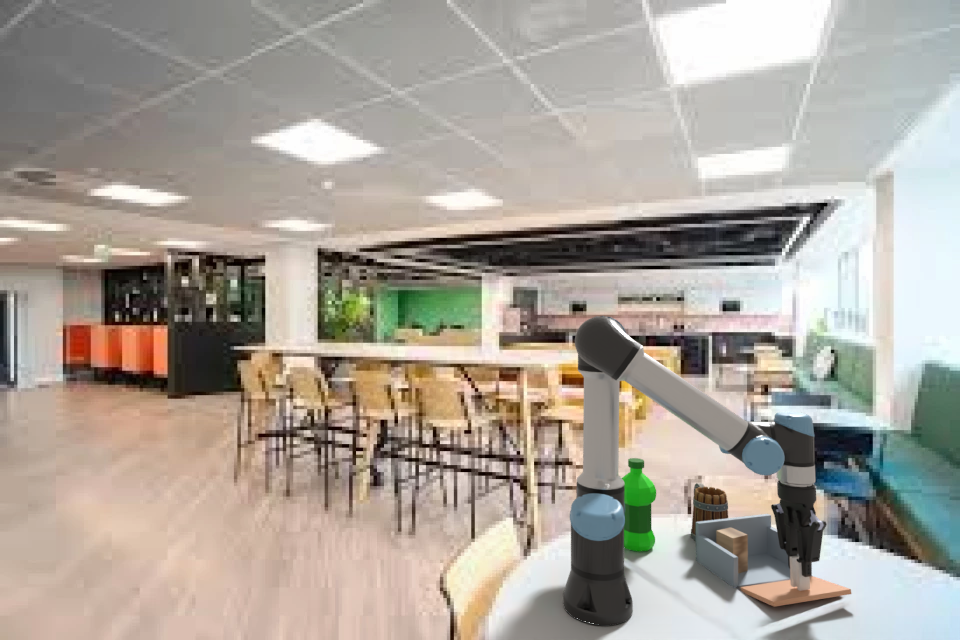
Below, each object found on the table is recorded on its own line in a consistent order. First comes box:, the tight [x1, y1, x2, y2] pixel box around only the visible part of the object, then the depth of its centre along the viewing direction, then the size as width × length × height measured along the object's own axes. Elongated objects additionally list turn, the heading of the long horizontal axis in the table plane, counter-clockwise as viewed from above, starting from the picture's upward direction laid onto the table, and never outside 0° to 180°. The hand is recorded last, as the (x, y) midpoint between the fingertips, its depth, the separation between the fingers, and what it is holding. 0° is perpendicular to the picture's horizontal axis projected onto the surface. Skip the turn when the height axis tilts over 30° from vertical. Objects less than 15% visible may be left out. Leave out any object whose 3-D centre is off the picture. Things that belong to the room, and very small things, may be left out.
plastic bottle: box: [621, 457, 657, 553], centre depth 146 cm, size 10×10×25 cm
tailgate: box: [736, 575, 852, 607], centre depth 120 cm, size 20×1×11 cm
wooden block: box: [716, 527, 748, 574], centre depth 132 cm, size 5×5×9 cm
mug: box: [690, 482, 729, 543], centre depth 152 cm, size 16×11×15 cm
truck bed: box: [695, 513, 813, 589], centre depth 132 cm, size 22×14×12 cm, turn 104°
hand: (800, 587), depth 119 cm, fingers closed
